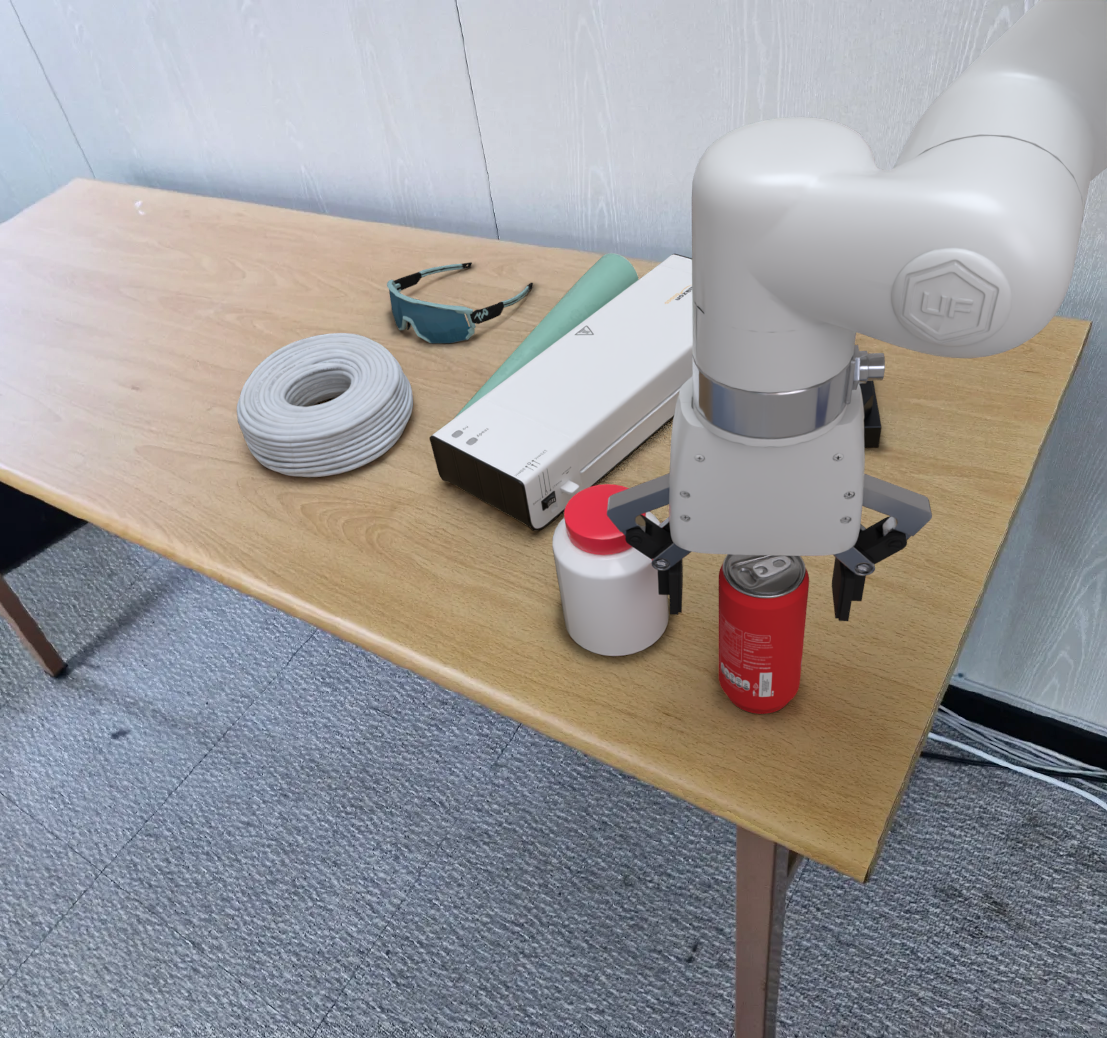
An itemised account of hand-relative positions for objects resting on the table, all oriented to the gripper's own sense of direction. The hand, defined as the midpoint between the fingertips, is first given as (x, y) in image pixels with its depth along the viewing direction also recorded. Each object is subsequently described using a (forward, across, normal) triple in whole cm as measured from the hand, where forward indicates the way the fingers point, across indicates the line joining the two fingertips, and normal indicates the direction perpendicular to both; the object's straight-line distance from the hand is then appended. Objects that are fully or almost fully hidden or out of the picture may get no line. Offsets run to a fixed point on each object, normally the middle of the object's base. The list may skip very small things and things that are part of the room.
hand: (756, 600), depth 61 cm
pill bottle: (+9, +10, -6) cm, 14 cm away
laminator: (+9, +11, -31) cm, 34 cm away
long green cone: (+10, +20, -39) cm, 45 cm away
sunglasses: (+10, +30, -51) cm, 60 cm away
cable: (+10, +40, -30) cm, 51 cm away
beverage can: (+9, 0, 0) cm, 9 cm away
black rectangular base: (+9, -4, -30) cm, 32 cm away
